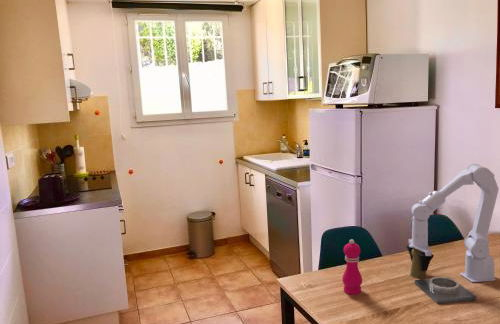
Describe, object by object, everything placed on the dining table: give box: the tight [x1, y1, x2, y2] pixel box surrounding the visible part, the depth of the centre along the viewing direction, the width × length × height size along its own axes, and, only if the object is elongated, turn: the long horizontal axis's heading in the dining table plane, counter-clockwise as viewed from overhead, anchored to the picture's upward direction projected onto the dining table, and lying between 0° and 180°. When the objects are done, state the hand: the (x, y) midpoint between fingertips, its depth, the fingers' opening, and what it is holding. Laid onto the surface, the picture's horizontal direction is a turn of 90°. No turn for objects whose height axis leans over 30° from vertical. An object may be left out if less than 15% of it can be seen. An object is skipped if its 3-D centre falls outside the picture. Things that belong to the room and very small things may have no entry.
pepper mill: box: [341, 238, 363, 296], centre depth 147 cm, size 7×7×20 cm
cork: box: [409, 248, 427, 279], centre depth 159 cm, size 6×6×11 cm
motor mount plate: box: [414, 276, 477, 305], centre depth 145 cm, size 14×16×4 cm
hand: (419, 266), depth 159 cm, fingers open, 7 cm apart
